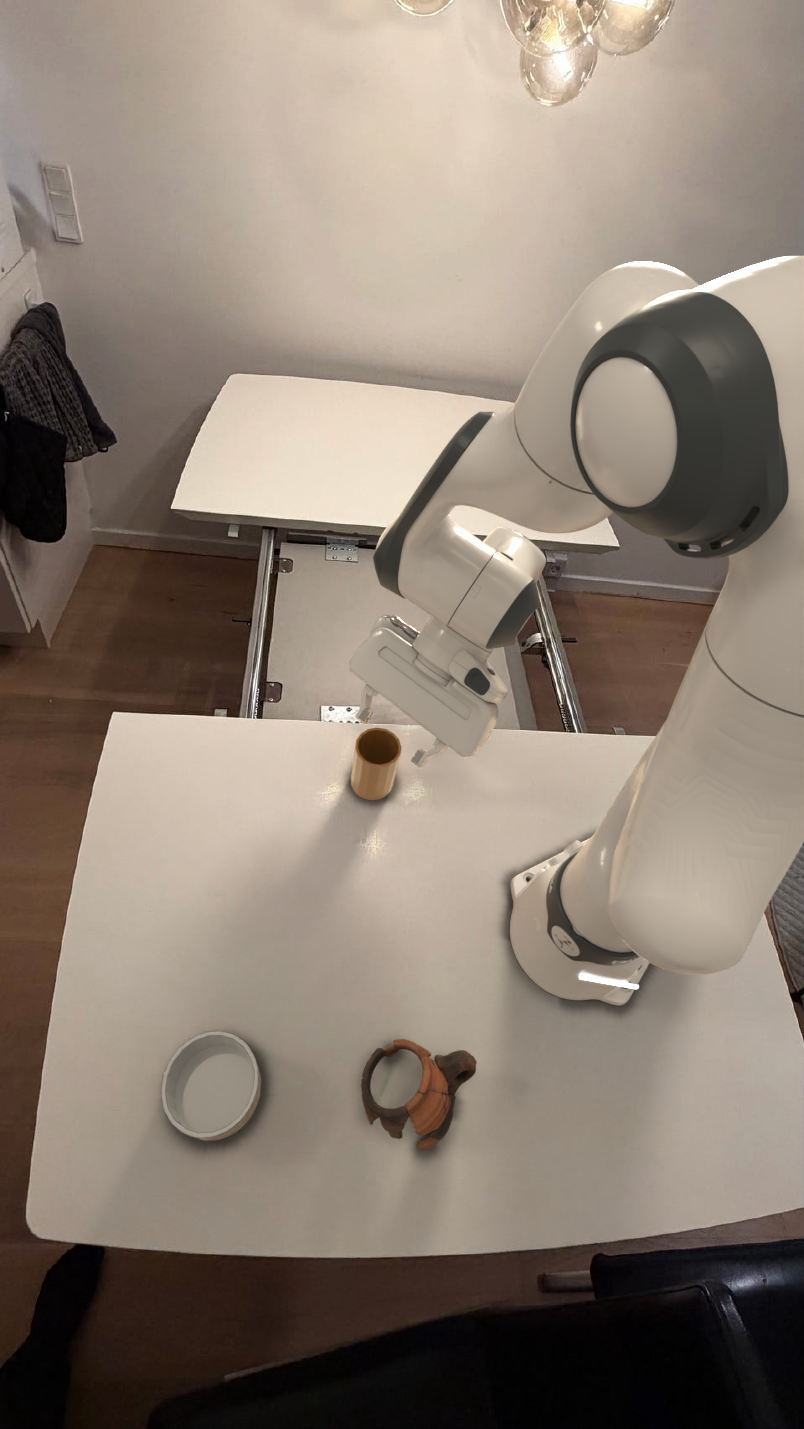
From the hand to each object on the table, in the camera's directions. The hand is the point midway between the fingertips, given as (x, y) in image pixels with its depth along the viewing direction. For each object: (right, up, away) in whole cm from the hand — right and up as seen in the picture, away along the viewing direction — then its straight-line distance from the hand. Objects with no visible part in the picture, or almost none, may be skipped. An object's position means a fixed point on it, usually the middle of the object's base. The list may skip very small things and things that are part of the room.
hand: (388, 742), depth 86 cm
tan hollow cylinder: (-2, -6, +5) cm, 8 cm away
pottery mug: (+3, -36, -15) cm, 39 cm away
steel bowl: (-17, -35, -18) cm, 43 cm away
